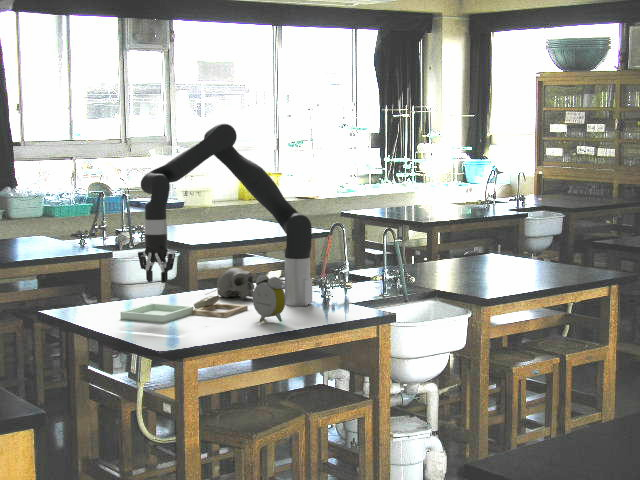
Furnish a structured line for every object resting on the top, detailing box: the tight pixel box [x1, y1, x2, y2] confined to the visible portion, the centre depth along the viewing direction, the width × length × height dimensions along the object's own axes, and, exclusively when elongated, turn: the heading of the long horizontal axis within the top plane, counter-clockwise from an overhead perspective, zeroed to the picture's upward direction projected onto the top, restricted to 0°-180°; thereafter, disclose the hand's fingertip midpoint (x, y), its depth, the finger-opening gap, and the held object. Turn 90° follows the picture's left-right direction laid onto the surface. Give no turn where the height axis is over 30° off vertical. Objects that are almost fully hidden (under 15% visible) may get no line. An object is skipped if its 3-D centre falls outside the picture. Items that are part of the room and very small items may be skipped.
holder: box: [191, 302, 249, 318], centre depth 363 cm, size 13×16×2 cm
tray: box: [119, 302, 194, 324], centre depth 355 cm, size 17×19×2 cm
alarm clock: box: [252, 274, 286, 323], centre depth 346 cm, size 12×7×15 cm, turn 44°
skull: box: [216, 267, 256, 300], centre depth 393 cm, size 12×18×12 cm, turn 45°
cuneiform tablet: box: [193, 288, 221, 309], centre depth 368 cm, size 7×4×12 cm
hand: (156, 282), depth 354 cm, fingers open, 5 cm apart
